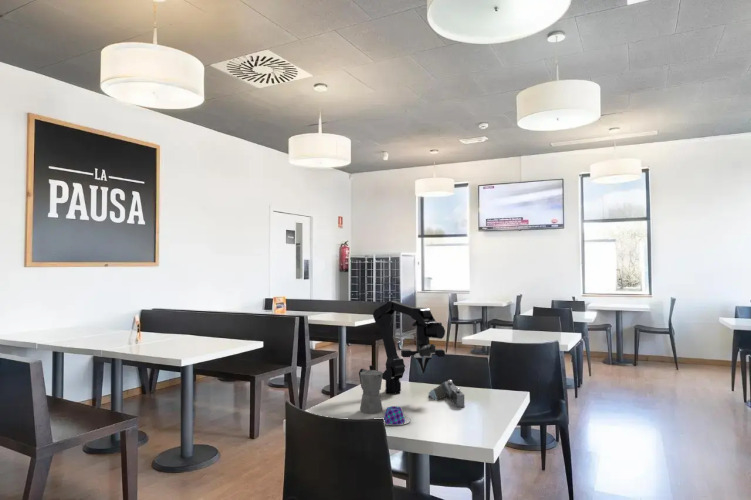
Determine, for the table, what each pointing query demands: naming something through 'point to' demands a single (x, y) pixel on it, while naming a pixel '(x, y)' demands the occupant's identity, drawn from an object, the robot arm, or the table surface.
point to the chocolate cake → (440, 392)
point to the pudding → (395, 416)
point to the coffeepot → (371, 390)
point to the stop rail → (455, 394)
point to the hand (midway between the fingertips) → (423, 372)
